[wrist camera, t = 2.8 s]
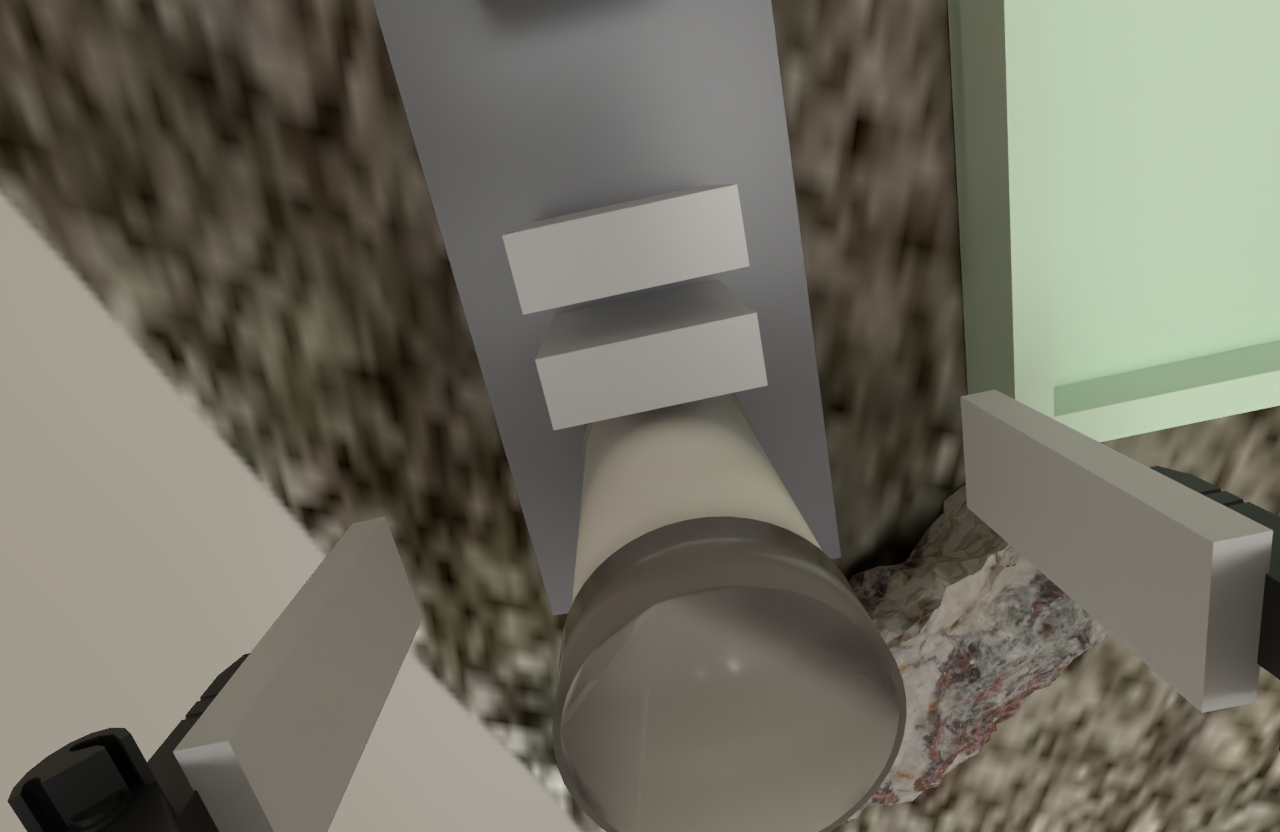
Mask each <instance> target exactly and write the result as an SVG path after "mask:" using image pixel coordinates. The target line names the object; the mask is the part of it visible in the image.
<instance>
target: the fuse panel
mask: <svg viewBox="0 0 1280 832" xmlns="http://www.w3.org/2000/svg"><path fill="white" fill-rule="evenodd" d="M373 3H374V6H375V10H376V13H377V16H378V20H379V23H380V27H381V30H382V33H383V37H384V40H385V44H386V47H387V50H388V54H389V57H390V61H391V64H392V68H393V71H394V74H395V78H396V81H397V85H398V88H399V91H400V95H401V98H402V102H403V105H404V108H405V112H406V115H407V119H408V122H409V126H410V129H411V132H412V136H413V139H414V143H415V146H416V149H417V153H418V156H419V160H420V163H421V166H422V170H423V173H424V177H425V180H426V184H427V187H428V190H429V194H430V197H431V201H432V204H433V207H434V211H435V214H436V218H437V221H438V224H439V228H440V231H441V235H442V238H443V242H444V245H445V248H446V252H447V255H448V259H449V262H450V265H451V269H452V272H453V276H454V279H455V282H456V286H457V289H458V293H459V296H460V300H461V303H462V306H463V310H464V313H465V317H466V320H467V323H468V327H469V330H470V334H471V337H472V340H473V344H474V347H475V351H476V354H477V358H478V361H479V364H480V368H481V371H482V375H483V378H484V381H485V385H486V388H487V392H488V395H489V398H490V402H491V405H492V409H493V412H494V416H495V419H496V422H497V426H498V429H499V433H500V436H501V439H502V443H503V446H504V450H505V453H506V456H507V460H508V463H509V467H510V470H511V474H512V477H513V480H514V484H515V487H516V491H517V494H518V497H519V501H520V504H521V508H522V511H523V514H524V518H525V521H526V525H527V528H528V532H529V535H530V538H531V542H532V545H533V549H534V552H535V555H536V559H537V562H538V566H539V569H540V572H541V576H542V579H543V583H544V586H545V590H546V593H547V596H548V600H549V603H550V607H551V610H552V613H553V616H555V615H560V614H565V613H569V610H570V608H571V606H572V597H573V586H574V575H575V564H576V553H577V542H578V531H579V520H580V509H581V498H582V487H583V477H584V475H583V469H582V446H583V437H584V427H585V424H587V423H592V422H596V421H601V420H606V419H611V418H615V417H620V416H625V415H630V414H634V413H639V412H644V411H649V410H653V409H658V408H663V407H668V406H673V405H677V404H682V403H687V402H692V401H696V400H701V399H706V398H711V397H715V396H720V395H725V394H730V393H734V394H735V395H736V397H737V399H738V400H739V402H740V403H741V405H742V407H743V408H744V410H745V412H746V414H747V415H748V417H749V419H750V421H751V423H752V426H753V428H754V431H755V436H756V438H757V440H758V442H759V443H760V445H761V447H762V449H763V450H764V452H765V454H766V455H767V457H768V459H769V461H770V462H771V464H772V466H773V467H774V469H775V471H776V472H777V474H778V476H779V478H780V479H781V481H782V483H783V484H784V486H785V488H786V490H787V491H788V493H789V495H790V496H791V498H792V500H793V502H794V503H795V505H796V507H797V508H798V510H799V512H800V513H801V515H802V517H803V519H804V520H805V522H806V524H807V525H808V527H809V529H810V531H811V532H812V534H813V536H814V537H815V539H816V541H817V542H818V544H819V546H820V548H821V549H822V551H823V552H824V553H825V554H826V555H827V556H828V557H829V558H830V559H836V558H841V552H840V544H839V537H838V529H837V521H836V513H835V505H834V497H833V489H832V481H831V473H830V465H829V457H828V449H827V441H826V433H825V425H824V417H823V409H822V401H821V393H820V385H819V377H818V369H817V362H816V354H815V346H814V338H813V330H812V322H811V314H810V306H809V298H808V290H807V282H806V274H805V266H804V258H803V250H802V242H801V234H800V226H799V218H798V210H797V202H796V194H795V187H794V179H793V171H792V163H791V155H790V147H789V139H788V131H787V123H786V115H785V107H784V99H783V91H782V83H781V75H780V67H779V59H778V51H777V43H776V35H775V27H774V19H773V12H772V4H771V0H373Z"/></svg>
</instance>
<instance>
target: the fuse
mask: <svg viewBox="0 0 1280 832" xmlns="http://www.w3.org/2000/svg"><path fill="white" fill-rule="evenodd" d="M582 469H583V475H584V477H583V487H582V498H581V509H580V520H579V531H578V542H577V553H576V564H575V575H574V586H573V597H572V606H571V608H570V610H569V613H568V615H567V618H566V622H565V626H564V630H563V635H562V644H561V654H560V663H559V673H558V682H557V692H556V701H555V710H554V720H553V730H552V731H553V747H554V753H555V757H556V762H557V766H558V769H559V771H560V774H561V776H562V779H563V781H564V784H565V785H566V787H567V789H568V790H569V792H570V794H571V795H572V797H573V799H574V800H575V801H576V802H577V804H578V805H579V806H580V807H581V809H582V810H583V811H584V812H585V813H586V814H587V815H588V816H589V817H590V818H591V819H592V820H593V821H594V822H595V823H596V824H598V825H599V826H600V827H601V828H603V829H604V830H605V831H607V832H830V831H832V830H833V829H835V828H837V827H838V826H839V825H841V824H842V823H843V822H845V821H846V820H847V819H849V818H850V817H851V816H852V815H854V814H855V813H856V812H857V811H858V810H859V809H860V808H861V807H862V806H863V805H864V804H865V803H866V802H867V801H868V800H869V799H870V798H871V797H872V795H873V794H874V793H875V792H876V791H877V789H878V788H879V787H880V786H881V784H882V782H883V781H884V779H885V778H886V776H887V775H888V773H889V772H890V770H891V768H892V766H893V764H894V761H895V759H896V757H897V755H898V753H899V750H900V746H901V743H902V740H903V736H904V731H905V724H906V717H907V714H906V694H905V689H904V683H903V679H902V676H901V673H900V670H899V668H898V665H897V662H896V660H895V659H894V657H893V655H892V653H891V651H890V650H889V648H888V646H887V644H886V643H885V641H884V639H883V638H882V636H881V634H880V633H879V631H878V629H877V628H876V626H875V625H874V623H873V621H872V620H871V618H870V616H869V615H868V613H867V611H866V610H865V608H864V606H863V605H862V603H861V601H860V600H859V598H858V596H857V595H856V593H855V592H854V590H853V588H852V587H851V585H850V583H849V582H848V580H847V578H846V577H845V575H844V574H843V573H842V571H841V570H840V569H839V568H838V566H837V565H836V564H835V562H834V561H833V560H832V559H830V558H829V557H828V556H827V555H826V554H825V553H824V552H823V551H822V549H821V548H820V546H819V544H818V542H817V541H816V539H815V537H814V536H813V534H812V532H811V531H810V529H809V527H808V525H807V524H806V522H805V520H804V519H803V517H802V515H801V513H800V512H799V510H798V508H797V507H796V505H795V503H794V502H793V500H792V498H791V496H790V495H789V493H788V491H787V490H786V488H785V486H784V484H783V483H782V481H781V479H780V478H779V476H778V474H777V472H776V471H775V469H774V467H773V466H772V464H771V462H770V461H769V459H768V457H767V455H766V454H765V452H764V450H763V449H762V447H761V445H760V443H759V442H758V440H757V438H756V436H755V431H754V428H753V426H752V423H751V421H750V419H749V417H748V415H747V414H746V412H745V410H744V408H743V407H742V405H741V403H740V402H739V400H738V399H737V397H736V395H735V394H734V393H730V394H725V395H720V396H715V397H711V398H706V399H701V400H696V401H692V402H687V403H682V404H677V405H673V406H668V407H663V408H658V409H653V410H649V411H644V412H639V413H634V414H630V415H625V416H620V417H615V418H611V419H606V420H601V421H596V422H592V423H587V424H585V427H584V437H583V446H582Z"/></svg>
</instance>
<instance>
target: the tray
mask: <svg viewBox="0 0 1280 832" xmlns="http://www.w3.org/2000/svg"><path fill="white" fill-rule="evenodd" d="M948 20H949V39H950V59H951V78H952V97H953V117H954V136H955V155H956V175H957V194H958V214H959V233H960V252H961V272H962V291H963V311H964V330H965V349H966V369H967V388H968V395H971V394H976V393H980V392H985V391H990V390H997V391H999V392H1001V393H1003V394H1005V395H1007V396H1009V397H1011V398H1013V399H1015V400H1017V401H1019V402H1021V403H1022V404H1024V405H1026V406H1028V407H1030V408H1032V409H1034V410H1036V411H1038V412H1040V413H1042V414H1044V415H1046V416H1048V417H1050V418H1052V419H1054V420H1056V421H1058V422H1060V423H1062V424H1064V425H1066V426H1068V427H1070V428H1072V429H1074V430H1076V431H1078V432H1080V433H1082V434H1084V435H1086V436H1088V437H1090V438H1092V439H1094V440H1096V441H1098V442H1104V441H1109V440H1114V439H1118V438H1123V437H1128V436H1133V435H1138V434H1143V433H1148V432H1153V431H1157V430H1162V429H1167V428H1172V427H1177V426H1182V425H1187V424H1191V423H1196V422H1201V421H1206V420H1211V419H1216V418H1221V417H1226V416H1230V415H1235V414H1240V413H1245V412H1250V411H1255V410H1260V409H1264V408H1269V407H1274V406H1279V405H1280V0H948Z"/></svg>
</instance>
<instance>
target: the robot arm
mask: <svg viewBox="0 0 1280 832" xmlns="http://www.w3.org/2000/svg"><path fill="white" fill-rule="evenodd" d="M961 414H962V430H963V447H964V463H965V480H966V496H967V508H969V509H970V510H971V511H972V512H973V513H974V514H975V515H977V516H978V517H979V518H980V519H981V520H982V521H983V522H985V523H986V524H987V525H988V526H989V527H990V528H991V529H993V530H994V531H995V532H996V533H997V534H998V535H999V536H1001V537H1002V538H1003V539H1004V540H1005V541H1006V542H1007V543H1009V544H1010V545H1011V546H1012V547H1013V548H1014V549H1015V550H1017V551H1018V552H1019V553H1020V554H1021V555H1022V556H1023V557H1025V558H1026V559H1027V560H1028V561H1029V562H1030V563H1031V564H1033V565H1034V566H1035V567H1036V568H1037V569H1038V570H1039V571H1040V572H1042V573H1043V574H1044V575H1045V576H1046V577H1047V578H1048V579H1050V580H1051V581H1052V582H1053V583H1054V584H1055V585H1056V586H1058V587H1059V588H1060V589H1061V590H1062V591H1063V592H1064V593H1066V594H1067V595H1068V596H1069V597H1070V598H1071V599H1072V600H1074V601H1075V602H1076V603H1077V604H1078V605H1079V606H1080V607H1082V608H1083V609H1084V610H1085V611H1086V612H1087V613H1088V614H1090V615H1091V616H1092V617H1093V618H1094V619H1095V620H1096V621H1098V622H1099V623H1100V624H1101V625H1102V626H1103V627H1104V628H1106V629H1107V630H1108V631H1109V632H1110V633H1111V634H1112V635H1114V636H1115V637H1116V638H1117V639H1118V640H1119V641H1120V642H1122V643H1123V644H1124V645H1125V646H1126V647H1127V648H1128V649H1130V650H1131V651H1132V652H1133V653H1134V654H1135V655H1136V656H1137V657H1139V658H1140V659H1141V660H1142V661H1143V662H1144V663H1145V664H1147V665H1148V666H1149V667H1150V668H1151V669H1152V670H1153V671H1155V672H1156V673H1157V674H1158V675H1159V676H1160V677H1161V678H1163V679H1164V680H1165V681H1166V682H1167V683H1168V684H1169V685H1171V686H1172V687H1173V688H1174V689H1175V690H1176V691H1177V692H1179V693H1180V694H1181V695H1182V696H1183V697H1184V698H1185V699H1187V700H1188V701H1189V702H1190V703H1191V704H1192V705H1193V706H1195V707H1196V708H1197V709H1198V710H1199V711H1200V712H1201V713H1204V712H1209V711H1214V710H1219V709H1224V708H1229V707H1235V706H1240V705H1245V704H1250V703H1255V702H1256V700H1257V690H1258V679H1259V669H1260V666H1261V667H1263V668H1264V669H1266V670H1267V671H1268V672H1270V673H1271V674H1273V675H1274V676H1275V677H1277V678H1278V679H1279V680H1280V517H1279V516H1277V515H1275V514H1272V513H1270V512H1268V511H1266V510H1264V509H1262V508H1260V507H1258V506H1256V505H1254V504H1252V503H1250V502H1247V503H1244V501H1243V499H1241V498H1239V497H1237V496H1235V495H1233V494H1231V493H1229V492H1227V491H1222V492H1221V490H1220V488H1218V487H1216V486H1214V485H1212V484H1210V483H1208V482H1206V481H1204V480H1202V479H1200V478H1198V477H1196V476H1194V475H1191V474H1187V473H1183V472H1179V471H1175V470H1171V469H1167V468H1163V467H1159V466H1154V467H1150V468H1149V467H1147V466H1145V465H1143V464H1141V463H1139V462H1137V461H1135V460H1133V459H1131V458H1129V457H1127V456H1125V455H1123V454H1121V453H1119V452H1117V451H1115V450H1113V449H1111V448H1109V447H1107V446H1105V445H1103V444H1101V443H1099V442H1098V441H1096V440H1094V439H1092V438H1090V437H1088V436H1086V435H1084V434H1082V433H1080V432H1078V431H1076V430H1074V429H1072V428H1070V427H1068V426H1066V425H1064V424H1062V423H1060V422H1058V421H1056V420H1054V419H1052V418H1050V417H1048V416H1046V415H1044V414H1042V413H1040V412H1038V411H1036V410H1034V409H1032V408H1030V407H1028V406H1026V405H1024V404H1022V403H1021V402H1019V401H1017V400H1015V399H1013V398H1011V397H1009V396H1007V395H1005V394H1003V393H1001V392H999V391H997V390H990V391H985V392H980V393H976V394H971V395H966V396H961ZM421 620H422V616H421V614H420V611H419V608H418V605H417V602H416V600H415V597H414V594H413V591H412V589H411V586H410V583H409V580H408V578H407V575H406V572H405V569H404V567H403V564H402V561H401V558H400V556H399V553H398V550H397V547H396V544H395V542H394V539H393V536H392V533H391V531H390V528H389V525H388V522H387V520H386V517H381V518H376V519H371V520H366V521H361V522H357V523H352V525H351V526H350V527H349V528H348V530H347V531H346V532H345V534H344V535H343V536H342V537H341V539H340V540H339V541H338V542H337V544H336V545H335V546H334V548H333V549H332V550H331V551H330V553H329V554H328V555H327V556H326V558H325V559H324V560H323V562H322V563H321V564H320V565H319V567H318V568H317V569H316V570H315V572H314V573H313V574H312V575H311V577H310V578H309V579H308V581H307V582H306V583H305V584H304V586H303V587H302V588H301V589H300V591H299V592H298V593H297V595H296V596H295V597H294V599H293V600H292V601H291V602H290V603H289V605H288V606H287V607H286V609H285V610H284V611H283V612H282V614H281V615H280V616H279V618H278V619H277V620H276V621H275V622H274V624H273V625H272V626H271V628H270V629H269V630H268V632H267V633H266V634H265V635H264V636H263V638H262V639H261V641H260V642H259V643H258V644H257V646H256V647H255V648H254V649H253V650H252V652H251V653H249V654H245V655H243V656H242V657H241V658H239V659H238V660H237V661H236V662H234V663H233V664H232V665H231V666H230V667H228V668H227V669H226V670H225V671H223V672H222V673H221V674H220V675H218V677H217V678H216V679H215V680H214V681H213V683H212V684H211V685H210V686H209V687H208V689H207V690H206V691H205V692H204V694H203V695H202V696H201V697H200V698H201V701H198V702H196V703H195V705H194V706H193V707H192V708H191V710H190V711H189V712H188V713H187V714H186V719H185V720H181V722H180V723H179V724H178V726H177V727H176V728H175V729H174V730H173V731H172V733H171V734H170V735H169V736H168V738H167V739H166V740H165V741H164V743H163V744H162V745H161V746H160V747H159V749H158V750H157V751H156V752H155V754H154V755H153V756H152V757H151V759H150V760H149V761H148V762H146V760H145V758H144V757H143V755H142V753H141V751H140V749H139V748H138V746H137V744H136V742H135V741H134V739H133V737H132V735H131V734H130V733H129V732H128V731H127V730H126V729H125V728H109V729H105V730H101V731H98V732H94V733H91V734H89V735H86V736H84V737H82V738H80V739H78V740H75V741H73V742H71V743H69V744H67V745H66V746H64V747H62V748H61V749H59V750H57V751H56V752H54V753H52V754H51V755H49V756H48V757H46V758H45V759H44V760H42V761H41V762H40V763H39V764H37V765H36V766H35V767H34V768H32V769H31V770H30V771H29V772H27V773H26V775H25V776H24V777H23V778H22V779H21V780H20V781H19V782H18V783H17V784H16V786H15V787H14V788H13V790H12V792H11V794H10V797H9V799H8V803H9V804H10V806H11V807H12V809H13V810H14V812H15V813H16V815H17V816H18V818H19V819H20V821H21V822H22V824H23V826H24V827H25V829H26V830H27V832H327V831H328V829H329V827H330V824H331V822H332V820H333V818H334V816H335V813H336V811H337V809H338V807H339V804H340V802H341V800H342V798H343V795H344V793H345V791H346V789H347V786H348V784H349V782H350V779H351V777H352V775H353V773H354V771H355V768H356V766H357V764H358V762H359V759H360V757H361V755H362V753H363V750H364V748H365V746H366V744H367V741H368V739H369V737H370V735H371V732H372V730H373V728H374V725H375V724H376V721H377V719H378V717H379V715H380V712H381V710H382V708H383V706H384V703H385V701H386V699H387V696H388V694H389V692H390V690H391V688H392V685H393V683H394V681H395V679H396V676H397V674H398V672H399V669H400V667H401V665H402V663H403V660H404V658H405V656H406V654H407V652H408V649H409V647H410V645H411V643H412V640H413V638H414V636H415V634H416V632H417V629H418V627H419V625H420V623H421ZM1279 751H1280V747H1279Z"/></svg>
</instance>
